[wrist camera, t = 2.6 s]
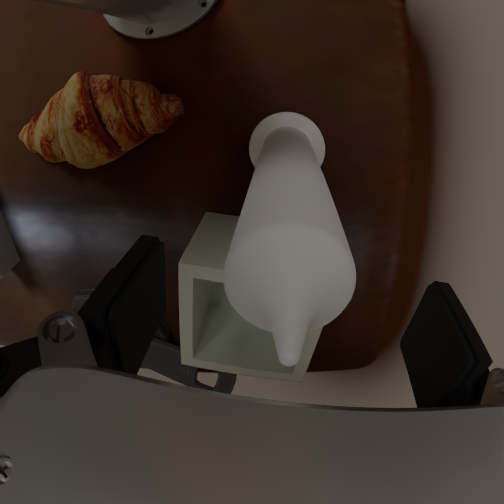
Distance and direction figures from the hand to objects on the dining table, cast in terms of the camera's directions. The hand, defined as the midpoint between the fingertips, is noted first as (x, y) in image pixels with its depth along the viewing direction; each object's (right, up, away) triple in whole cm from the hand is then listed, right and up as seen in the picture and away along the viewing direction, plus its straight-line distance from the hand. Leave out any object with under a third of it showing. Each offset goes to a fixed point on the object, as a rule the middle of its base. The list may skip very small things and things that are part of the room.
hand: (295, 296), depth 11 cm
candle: (+2, +11, +19) cm, 22 cm away
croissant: (-18, +16, +19) cm, 30 cm away
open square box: (-1, -1, +26) cm, 26 cm away
